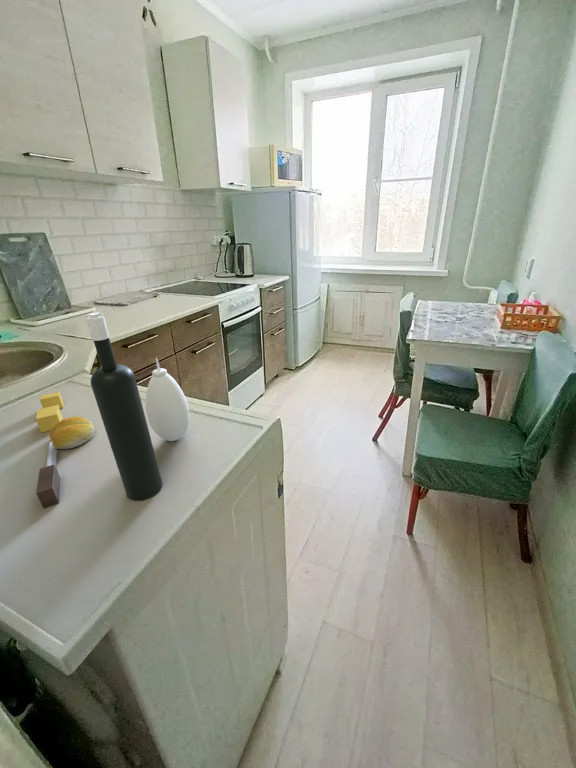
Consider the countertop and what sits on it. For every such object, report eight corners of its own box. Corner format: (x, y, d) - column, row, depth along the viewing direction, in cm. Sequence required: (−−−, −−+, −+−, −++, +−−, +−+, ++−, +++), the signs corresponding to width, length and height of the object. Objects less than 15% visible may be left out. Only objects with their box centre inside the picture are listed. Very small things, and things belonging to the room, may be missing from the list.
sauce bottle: (181, 424, 78) (165, 346, 70) (200, 437, 73) (185, 355, 65) (147, 439, 73) (126, 358, 65) (165, 454, 68) (144, 369, 60)
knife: (59, 503, 57) (52, 488, 56) (43, 508, 56) (36, 493, 55) (62, 452, 70) (56, 439, 69) (49, 456, 69) (43, 442, 68)
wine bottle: (128, 506, 56) (68, 322, 43) (124, 484, 61) (69, 312, 48) (165, 492, 58) (119, 314, 45) (159, 472, 63) (115, 306, 50)
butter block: (62, 427, 79) (56, 414, 77) (41, 432, 77) (35, 419, 76) (62, 417, 83) (57, 404, 81) (42, 422, 81) (37, 409, 80)
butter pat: (63, 407, 87) (58, 395, 86) (44, 412, 86) (39, 399, 84) (63, 403, 89) (59, 391, 88) (45, 408, 88) (40, 395, 86)
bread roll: (52, 456, 69) (45, 439, 67) (52, 435, 76) (45, 419, 74) (98, 441, 73) (92, 425, 71) (94, 423, 80) (88, 407, 78)
